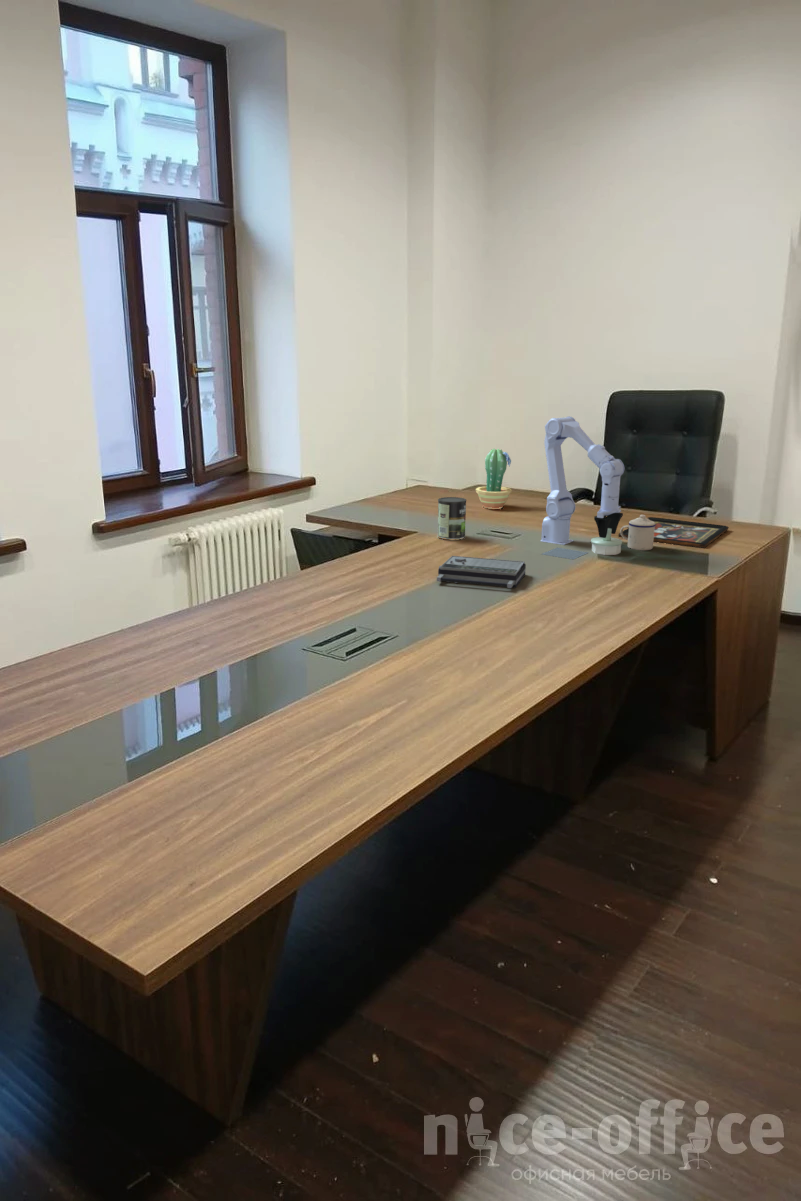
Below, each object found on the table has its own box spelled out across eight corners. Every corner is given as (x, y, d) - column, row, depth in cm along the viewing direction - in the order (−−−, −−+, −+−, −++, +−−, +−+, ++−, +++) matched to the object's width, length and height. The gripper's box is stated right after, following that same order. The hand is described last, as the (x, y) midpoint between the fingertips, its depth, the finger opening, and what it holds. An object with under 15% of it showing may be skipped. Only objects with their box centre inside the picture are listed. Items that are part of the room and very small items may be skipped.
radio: (526, 559, 278) (513, 575, 260) (525, 575, 279) (513, 592, 261) (450, 552, 285) (433, 568, 267) (449, 568, 287) (432, 585, 268)
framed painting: (637, 521, 359) (637, 514, 358) (729, 530, 345) (730, 523, 344) (615, 541, 326) (616, 534, 326) (716, 553, 312) (717, 545, 311)
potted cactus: (501, 512, 372) (503, 452, 365) (468, 508, 380) (470, 449, 373) (517, 506, 385) (520, 448, 377) (485, 503, 393) (487, 445, 385)
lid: (586, 543, 304) (587, 530, 303) (596, 537, 313) (597, 524, 311) (616, 547, 299) (617, 533, 298) (625, 541, 308) (627, 527, 306)
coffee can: (468, 535, 331) (469, 497, 327) (461, 541, 322) (462, 502, 318) (441, 533, 334) (442, 496, 330) (433, 539, 325) (434, 500, 321)
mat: (540, 555, 303) (540, 554, 303) (557, 548, 312) (557, 547, 312) (573, 560, 296) (573, 559, 296) (588, 553, 305) (589, 552, 305)
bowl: (588, 553, 306) (588, 543, 305) (599, 548, 313) (600, 538, 312) (612, 557, 301) (613, 547, 300) (623, 552, 308) (624, 542, 307)
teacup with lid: (656, 546, 315) (659, 514, 312) (649, 552, 308) (652, 518, 305) (623, 542, 321) (625, 510, 318) (615, 547, 314) (617, 514, 311)
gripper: (612, 500, 293) (609, 540, 297) (630, 494, 304) (626, 533, 308) (592, 498, 297) (589, 538, 301) (610, 492, 308) (607, 530, 312)
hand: (607, 535), depth 305 cm, fingers open, 7 cm apart
